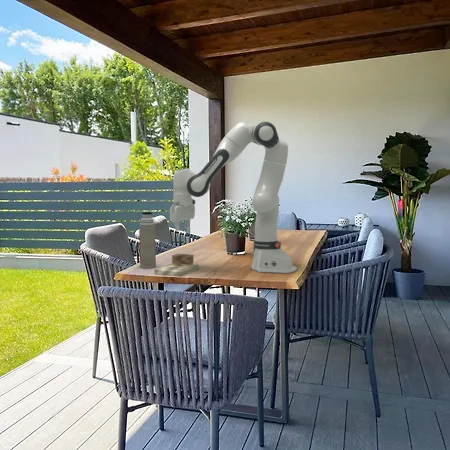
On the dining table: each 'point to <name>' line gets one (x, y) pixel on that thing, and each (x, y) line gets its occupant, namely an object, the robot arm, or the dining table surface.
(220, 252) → the dining table surface
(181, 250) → the dining table surface
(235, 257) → the dining table surface
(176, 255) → the block
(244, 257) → the dining table surface
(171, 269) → the board
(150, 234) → the thermos bottle
